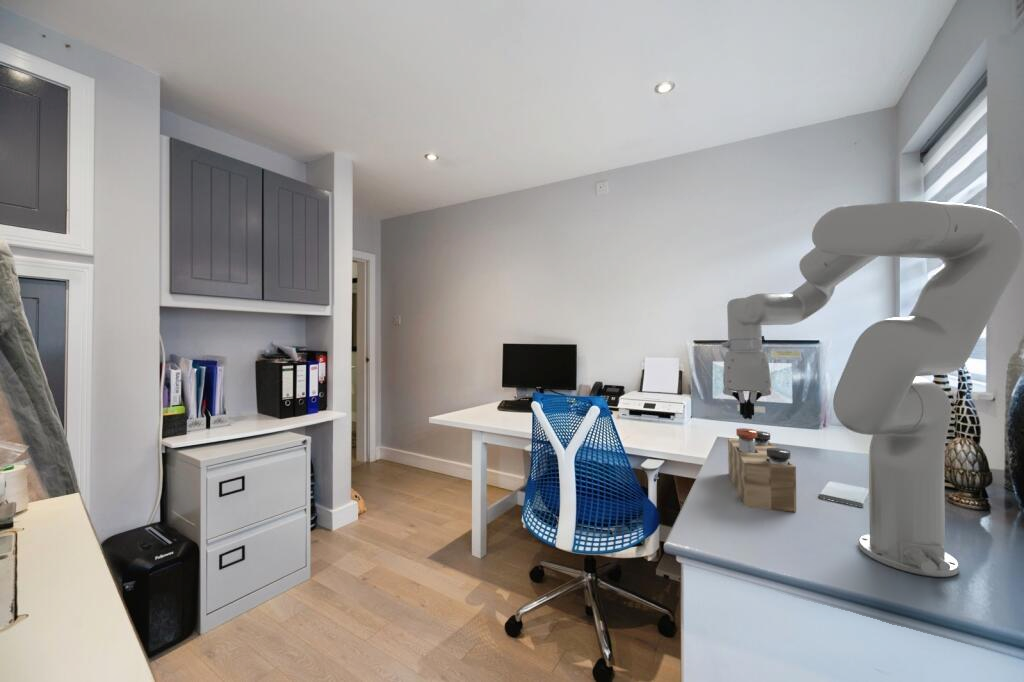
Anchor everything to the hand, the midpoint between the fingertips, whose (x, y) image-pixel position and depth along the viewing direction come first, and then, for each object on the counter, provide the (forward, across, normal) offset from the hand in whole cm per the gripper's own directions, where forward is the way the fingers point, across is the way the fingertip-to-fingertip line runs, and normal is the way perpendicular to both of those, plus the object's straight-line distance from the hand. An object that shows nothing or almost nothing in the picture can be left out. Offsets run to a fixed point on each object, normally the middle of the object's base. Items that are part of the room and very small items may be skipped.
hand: (747, 418), depth 105 cm
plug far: (+17, +4, +8) cm, 20 cm away
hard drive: (+19, +21, +2) cm, 28 cm away
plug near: (+18, +4, -10) cm, 20 cm away
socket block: (+18, +2, 0) cm, 18 cm away
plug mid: (+15, -1, -1) cm, 15 cm away
